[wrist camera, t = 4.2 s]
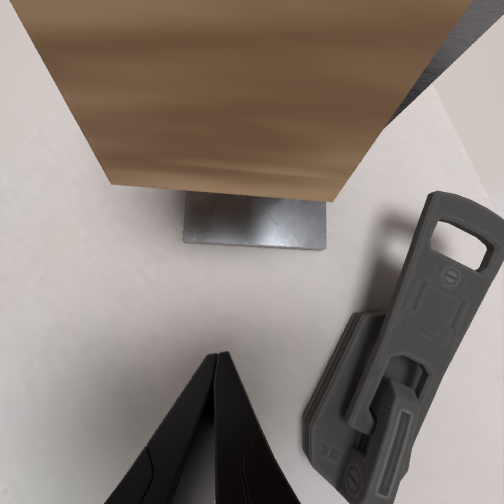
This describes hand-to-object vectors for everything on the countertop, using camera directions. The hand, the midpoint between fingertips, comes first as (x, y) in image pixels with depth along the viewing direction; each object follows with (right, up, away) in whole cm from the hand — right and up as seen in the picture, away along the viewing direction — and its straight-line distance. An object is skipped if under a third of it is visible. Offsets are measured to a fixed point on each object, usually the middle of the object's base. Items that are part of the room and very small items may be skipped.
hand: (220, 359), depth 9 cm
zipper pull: (+13, -4, +15) cm, 20 cm away
